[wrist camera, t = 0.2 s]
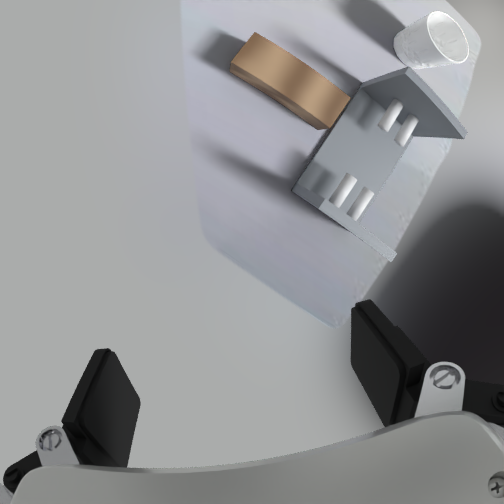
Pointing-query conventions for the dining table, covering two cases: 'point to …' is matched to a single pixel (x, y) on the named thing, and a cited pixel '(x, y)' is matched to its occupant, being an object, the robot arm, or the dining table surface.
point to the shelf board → (289, 81)
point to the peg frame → (372, 148)
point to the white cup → (431, 42)
